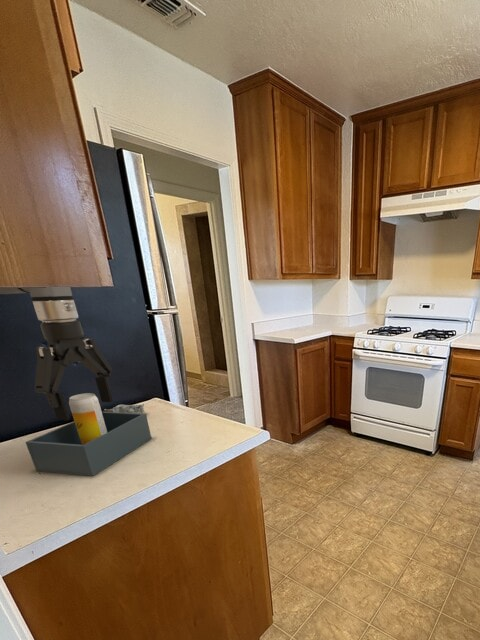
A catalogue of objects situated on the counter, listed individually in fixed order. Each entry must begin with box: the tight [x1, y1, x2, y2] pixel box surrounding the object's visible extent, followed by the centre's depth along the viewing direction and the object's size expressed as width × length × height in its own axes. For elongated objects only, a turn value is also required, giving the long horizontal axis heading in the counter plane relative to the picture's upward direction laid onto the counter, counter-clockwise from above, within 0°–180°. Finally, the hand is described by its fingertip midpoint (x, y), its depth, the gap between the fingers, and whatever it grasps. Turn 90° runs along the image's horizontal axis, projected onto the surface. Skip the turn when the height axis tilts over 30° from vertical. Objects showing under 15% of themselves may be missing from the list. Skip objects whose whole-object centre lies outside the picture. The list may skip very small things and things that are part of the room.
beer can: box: [68, 392, 107, 445], centre depth 89 cm, size 6×6×15 cm
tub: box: [25, 411, 153, 477], centre depth 91 cm, size 16×22×8 cm
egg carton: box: [103, 403, 146, 414], centre depth 117 cm, size 11×8×4 cm
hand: (87, 410), depth 88 cm, fingers open, 13 cm apart
